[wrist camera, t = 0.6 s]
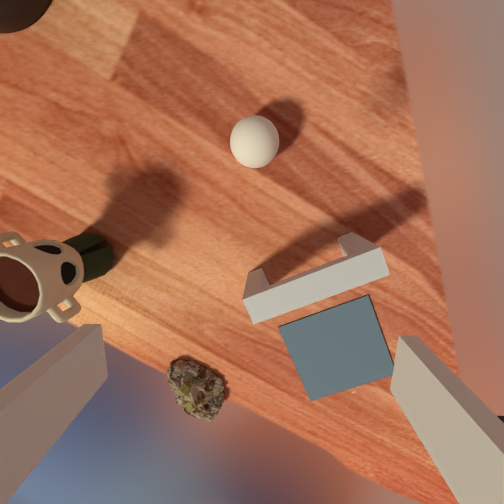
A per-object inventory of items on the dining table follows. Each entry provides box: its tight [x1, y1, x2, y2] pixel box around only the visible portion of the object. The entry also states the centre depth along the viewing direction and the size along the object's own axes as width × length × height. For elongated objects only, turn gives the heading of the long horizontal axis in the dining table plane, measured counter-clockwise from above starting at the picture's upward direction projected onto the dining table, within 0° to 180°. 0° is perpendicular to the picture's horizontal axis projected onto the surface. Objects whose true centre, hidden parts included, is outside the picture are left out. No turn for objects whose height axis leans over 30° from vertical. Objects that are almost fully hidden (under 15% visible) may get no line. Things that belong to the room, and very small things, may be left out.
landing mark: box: [278, 295, 394, 401], centre depth 39 cm, size 13×13×1 cm
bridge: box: [242, 232, 390, 324], centre depth 32 cm, size 3×14×9 cm, turn 113°
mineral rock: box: [166, 359, 224, 422], centre depth 41 cm, size 11×4×8 cm
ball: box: [230, 115, 279, 168], centre depth 31 cm, size 6×6×6 cm
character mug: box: [0, 231, 114, 323], centre depth 31 cm, size 11×7×13 cm, turn 35°
